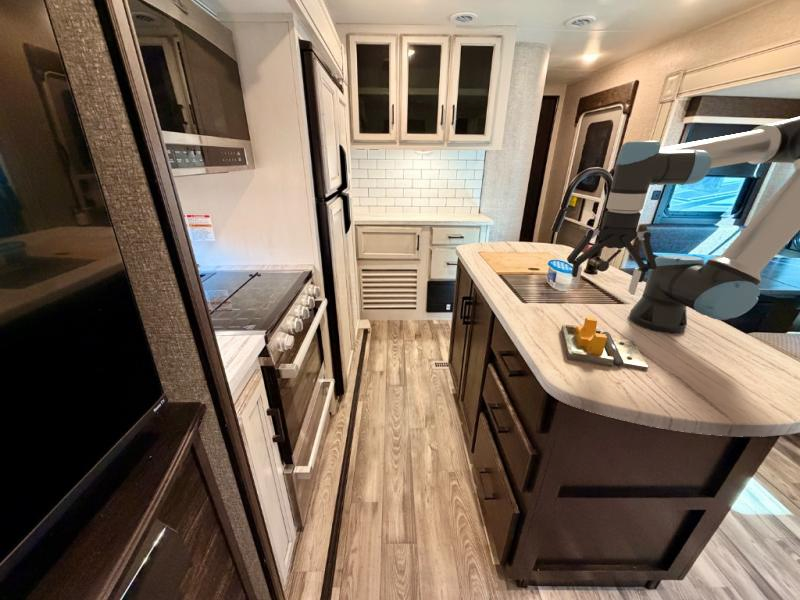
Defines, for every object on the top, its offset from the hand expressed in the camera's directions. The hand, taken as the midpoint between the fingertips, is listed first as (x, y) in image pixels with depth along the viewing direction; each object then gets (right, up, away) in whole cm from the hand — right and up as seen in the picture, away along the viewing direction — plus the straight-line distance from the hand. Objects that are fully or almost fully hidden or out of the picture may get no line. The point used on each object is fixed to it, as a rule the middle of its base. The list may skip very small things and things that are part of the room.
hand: (602, 290), depth 88 cm
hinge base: (+3, -17, +4) cm, 18 cm away
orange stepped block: (-1, -16, +5) cm, 17 cm away
